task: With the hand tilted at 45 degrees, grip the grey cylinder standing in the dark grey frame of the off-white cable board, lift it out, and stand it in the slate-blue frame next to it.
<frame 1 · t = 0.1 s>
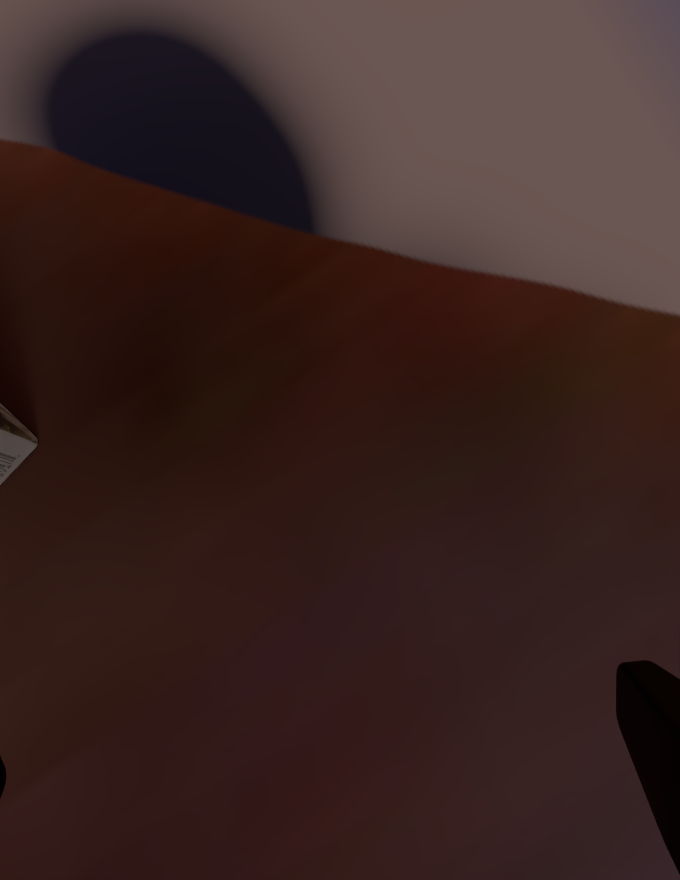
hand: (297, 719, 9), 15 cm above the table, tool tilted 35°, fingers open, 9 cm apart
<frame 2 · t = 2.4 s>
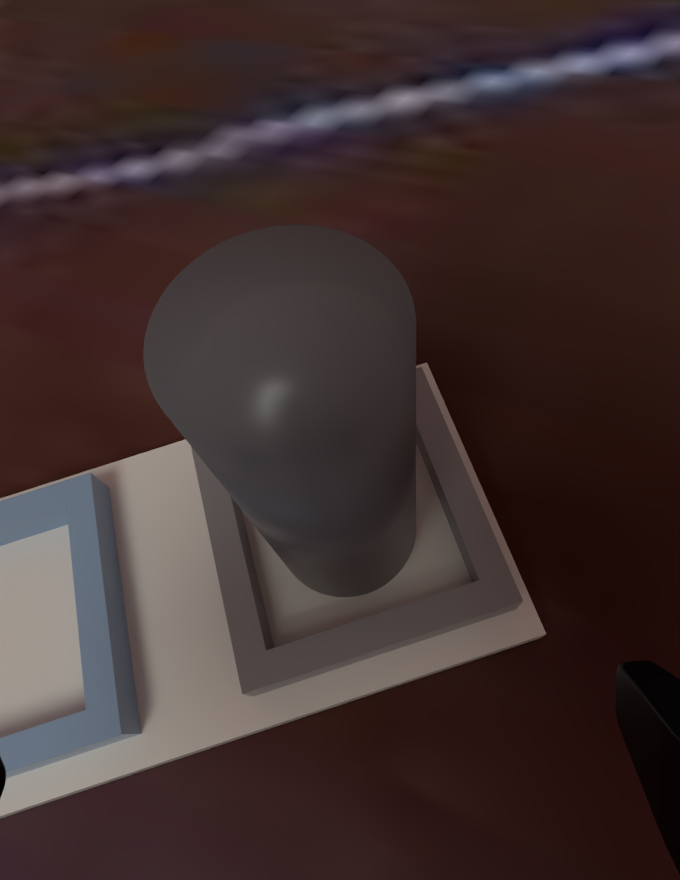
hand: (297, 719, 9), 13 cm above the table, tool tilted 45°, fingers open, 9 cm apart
grey cylinder: (345, 526, 22), point 1 cm above the table, touching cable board
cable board: (184, 588, 22), on the table
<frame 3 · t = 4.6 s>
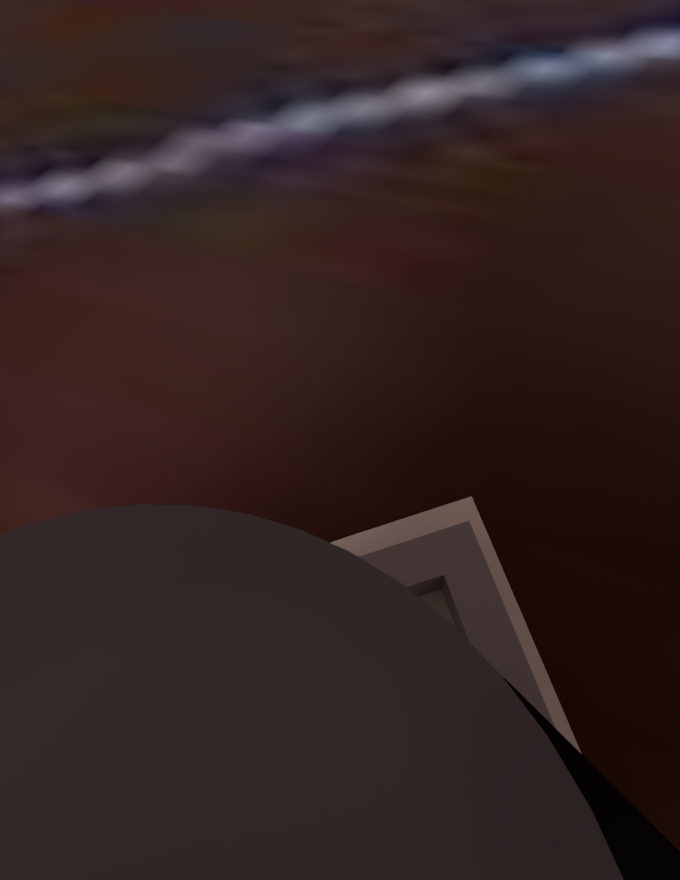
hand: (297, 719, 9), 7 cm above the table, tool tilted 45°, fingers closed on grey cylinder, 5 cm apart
grey cylinder: (348, 790, 13), point 1 cm above the table, touching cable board, gripper
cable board: (90, 874, 14), on the table
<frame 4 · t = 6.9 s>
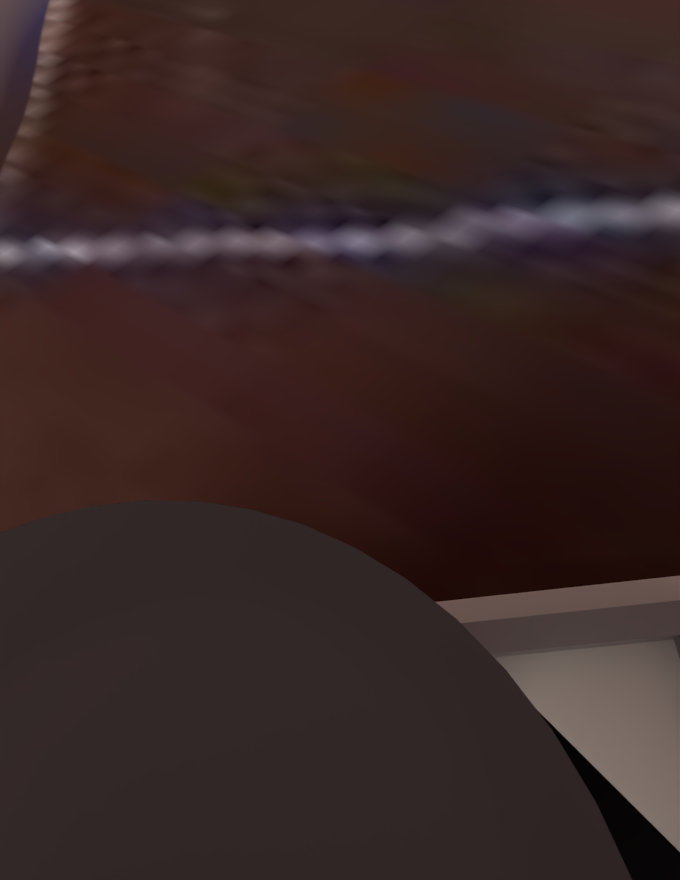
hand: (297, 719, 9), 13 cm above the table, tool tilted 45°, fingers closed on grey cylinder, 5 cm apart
grey cylinder: (349, 789, 13), point 7 cm above the table, touching gripper
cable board: (386, 785, 20), on the table
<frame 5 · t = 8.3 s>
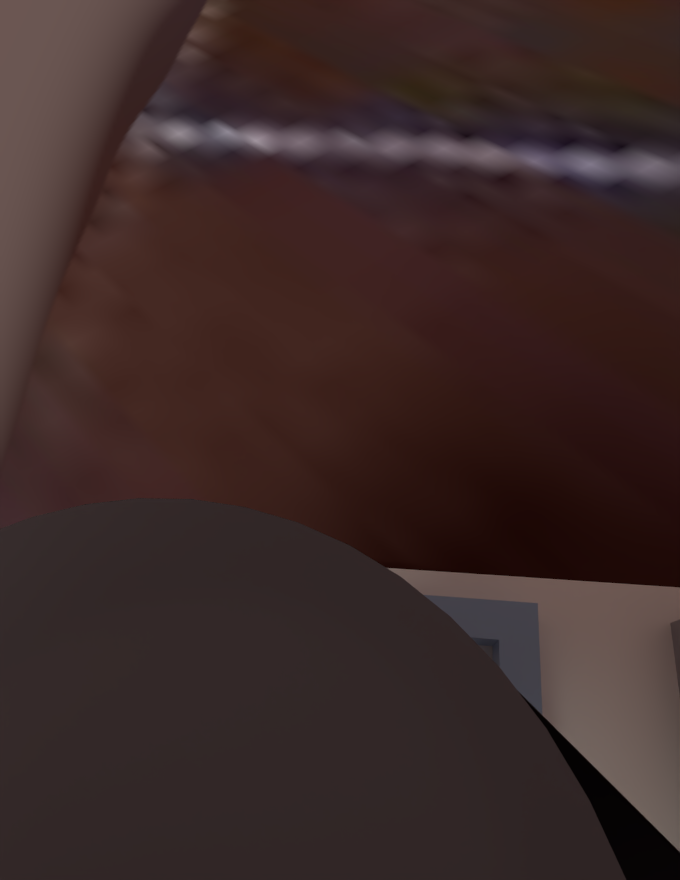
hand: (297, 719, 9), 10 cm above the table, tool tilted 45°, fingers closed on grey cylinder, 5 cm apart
grey cylinder: (347, 789, 13), point 4 cm above the table, touching gripper
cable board: (601, 798, 16), on the table
when the fingers open (8 cm above the table, at t = 9.0 s): grey cylinder drops 1 cm, resting on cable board.
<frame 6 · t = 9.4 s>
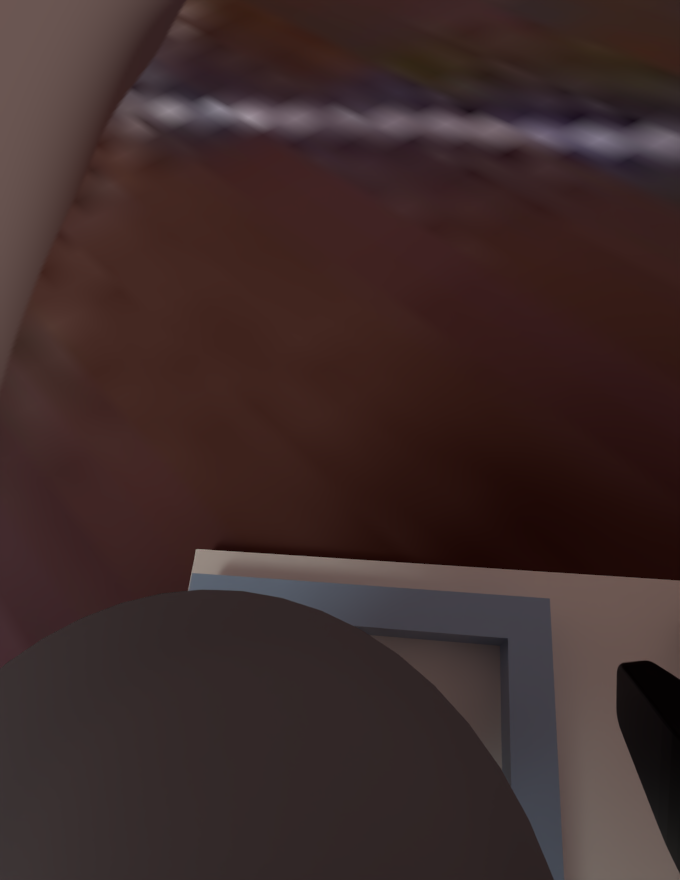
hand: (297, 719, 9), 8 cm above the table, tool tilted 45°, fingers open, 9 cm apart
grey cylinder: (354, 787, 15), point 1 cm above the table, touching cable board
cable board: (620, 811, 15), on the table
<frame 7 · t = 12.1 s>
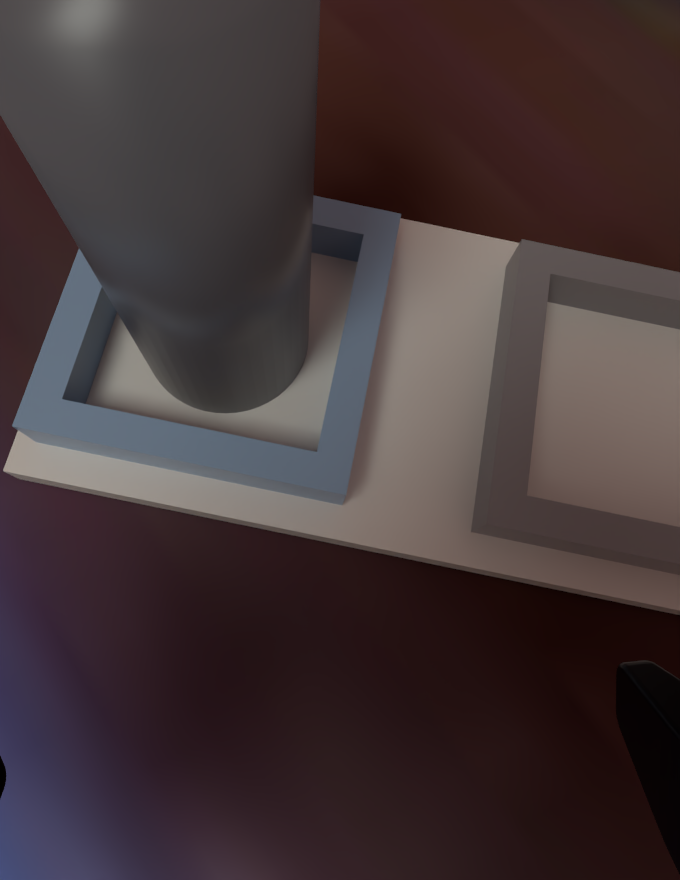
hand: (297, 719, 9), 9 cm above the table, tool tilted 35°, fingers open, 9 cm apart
grey cylinder: (227, 337, 19), point 1 cm above the table, touching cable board
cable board: (423, 389, 20), on the table
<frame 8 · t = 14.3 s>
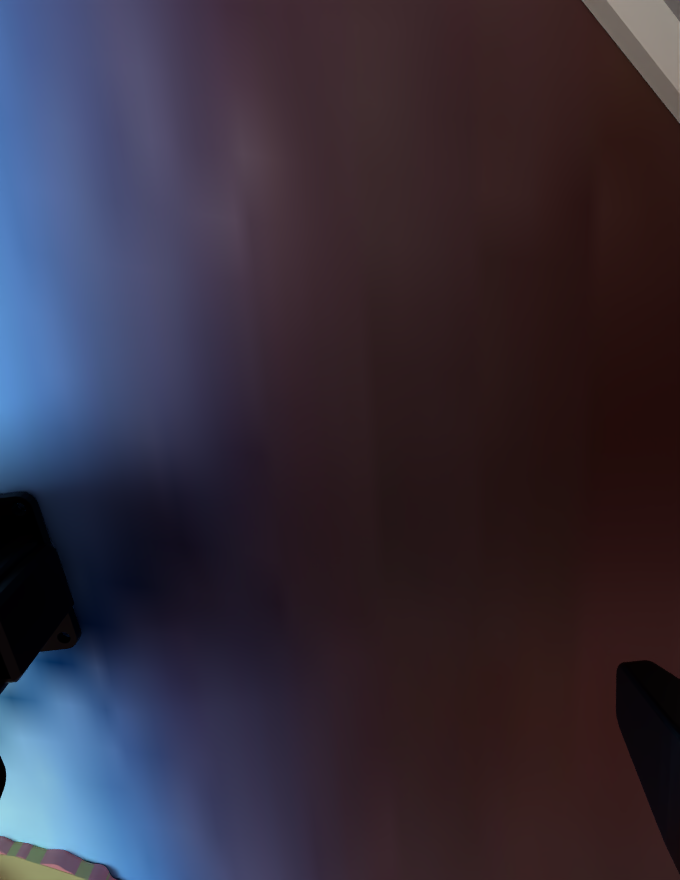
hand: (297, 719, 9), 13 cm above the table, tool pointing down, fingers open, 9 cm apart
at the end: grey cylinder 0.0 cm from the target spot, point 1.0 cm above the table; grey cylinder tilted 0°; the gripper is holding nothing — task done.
